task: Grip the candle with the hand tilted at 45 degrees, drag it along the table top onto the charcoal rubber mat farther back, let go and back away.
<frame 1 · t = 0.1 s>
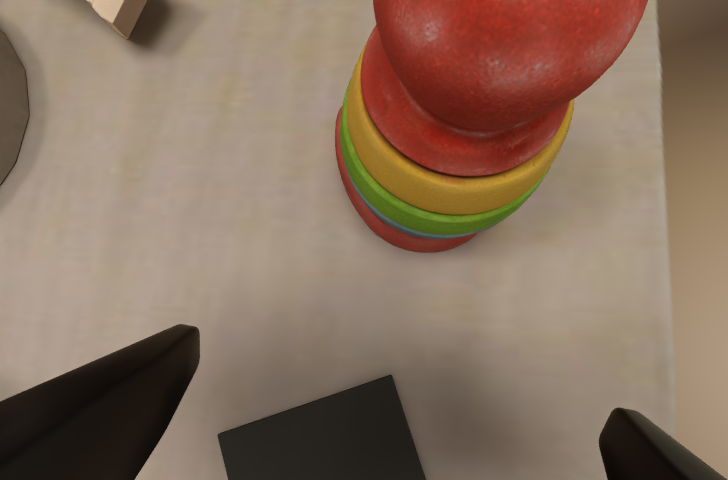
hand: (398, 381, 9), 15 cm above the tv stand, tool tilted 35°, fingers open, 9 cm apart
stacking bear: (423, 175, 25), on the tv stand
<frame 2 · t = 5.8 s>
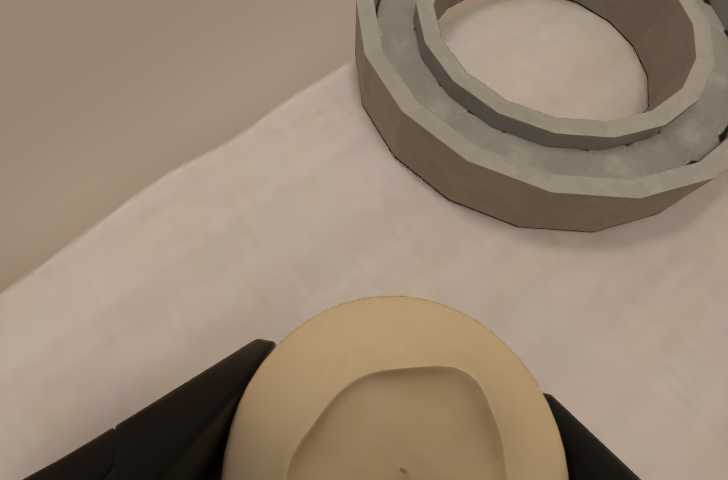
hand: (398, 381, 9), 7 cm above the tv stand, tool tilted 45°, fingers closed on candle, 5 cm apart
mechanical component: (533, 69, 21), on the tv stand
candle: (371, 434, 15), on the tv stand, touching gripper
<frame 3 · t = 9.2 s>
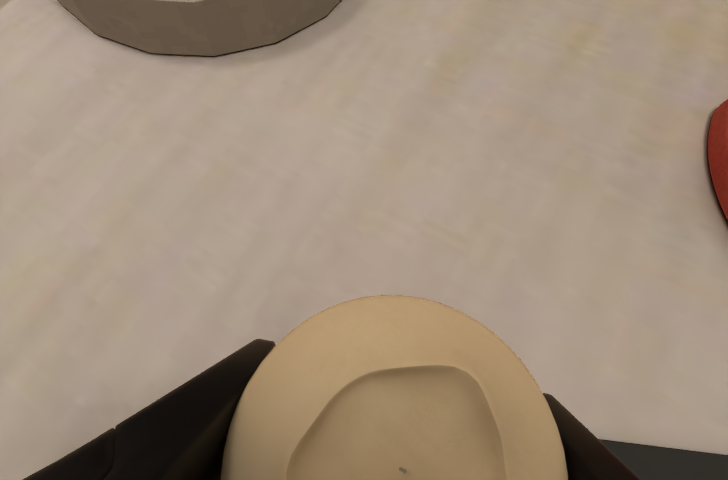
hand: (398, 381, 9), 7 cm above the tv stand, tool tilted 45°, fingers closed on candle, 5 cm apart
candle: (371, 434, 15), on the tv stand, touching gripper
when the fingers open (7 cm above the tv stand, at t = 11.3 s): candle stays where it is, resting on mat.
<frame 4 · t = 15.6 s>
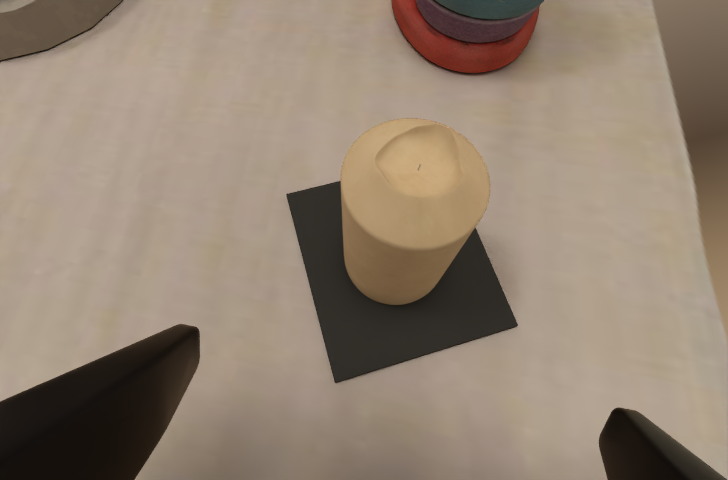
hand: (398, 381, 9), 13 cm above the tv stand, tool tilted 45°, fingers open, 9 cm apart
candle: (393, 259, 23), resting on mat
stacking bear: (464, 26, 31), on the tv stand
mat: (395, 257, 23), on the tv stand
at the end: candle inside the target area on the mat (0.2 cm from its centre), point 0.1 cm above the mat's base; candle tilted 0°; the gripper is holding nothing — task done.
